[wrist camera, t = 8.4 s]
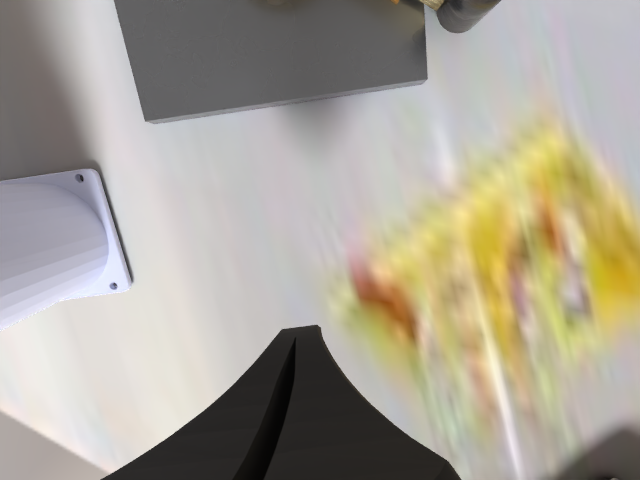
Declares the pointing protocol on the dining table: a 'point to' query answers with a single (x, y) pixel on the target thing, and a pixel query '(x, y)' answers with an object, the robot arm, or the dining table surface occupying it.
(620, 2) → the dining table surface
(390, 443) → the robot arm
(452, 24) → the tan piece
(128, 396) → the dining table surface
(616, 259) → the dining table surface
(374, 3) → the stand base
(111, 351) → the dining table surface
